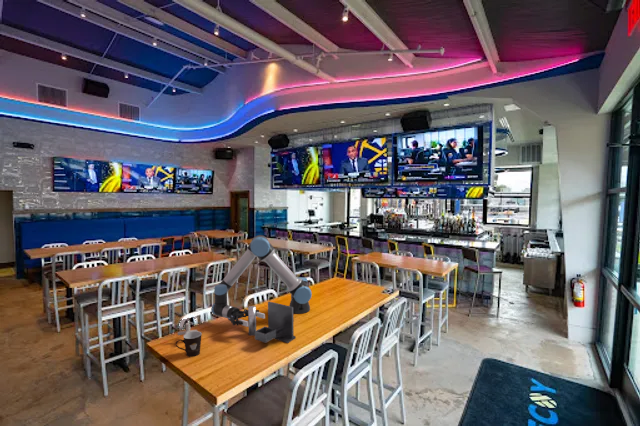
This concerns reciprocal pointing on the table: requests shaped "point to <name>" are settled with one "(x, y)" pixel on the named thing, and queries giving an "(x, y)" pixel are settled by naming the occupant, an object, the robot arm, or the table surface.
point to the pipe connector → (186, 330)
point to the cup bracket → (277, 324)
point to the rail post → (252, 320)
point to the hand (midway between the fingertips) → (256, 320)
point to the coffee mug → (192, 343)
